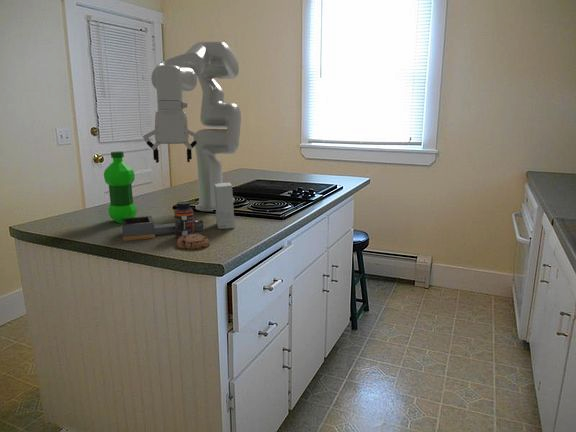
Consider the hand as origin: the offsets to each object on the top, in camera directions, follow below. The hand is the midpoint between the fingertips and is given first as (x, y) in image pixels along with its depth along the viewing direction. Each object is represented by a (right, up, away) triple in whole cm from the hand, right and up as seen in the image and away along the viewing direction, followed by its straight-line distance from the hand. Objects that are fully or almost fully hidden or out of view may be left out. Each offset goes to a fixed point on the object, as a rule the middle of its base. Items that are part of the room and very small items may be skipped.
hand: (173, 162), depth 147 cm
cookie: (+8, -27, -6) cm, 28 cm away
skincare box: (+15, -21, +14) cm, 29 cm away
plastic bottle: (-23, -19, +21) cm, 37 cm away
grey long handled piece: (-5, -23, +6) cm, 24 cm away
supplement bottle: (+3, -24, +2) cm, 24 cm away
